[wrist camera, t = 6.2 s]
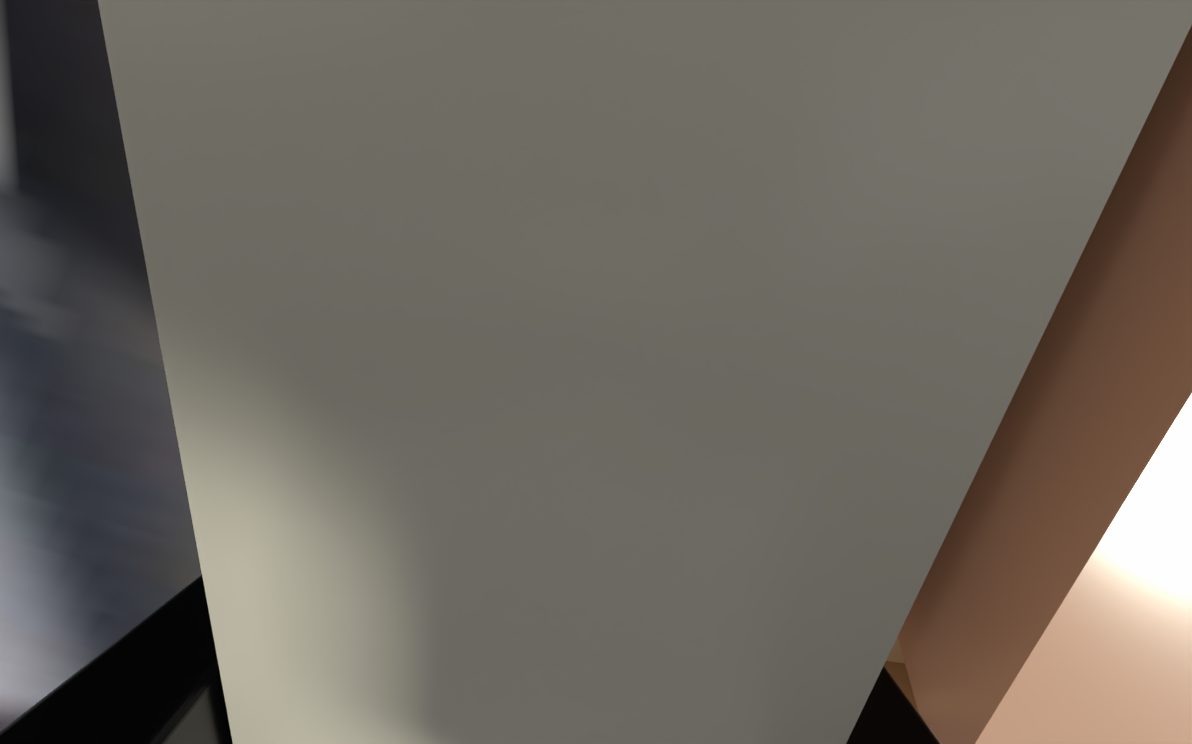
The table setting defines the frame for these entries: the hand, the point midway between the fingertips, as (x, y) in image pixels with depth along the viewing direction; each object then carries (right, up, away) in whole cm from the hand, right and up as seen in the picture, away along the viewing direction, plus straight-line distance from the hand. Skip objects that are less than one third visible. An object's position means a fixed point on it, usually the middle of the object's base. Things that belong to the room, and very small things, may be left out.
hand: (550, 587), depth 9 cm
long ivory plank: (0, +1, +2) cm, 2 cm away
